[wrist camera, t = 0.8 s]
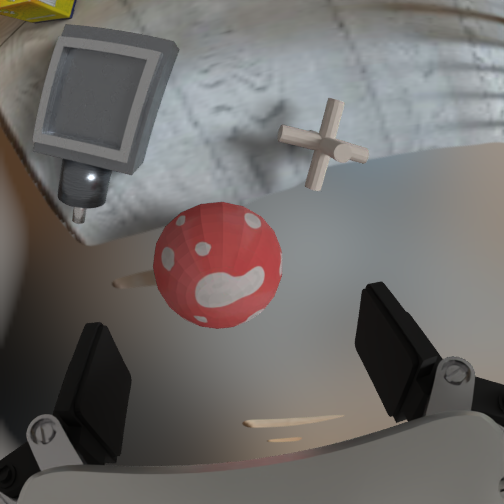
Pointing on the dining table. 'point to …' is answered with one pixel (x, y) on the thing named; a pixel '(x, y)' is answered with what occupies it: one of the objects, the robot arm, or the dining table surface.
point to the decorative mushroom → (218, 264)
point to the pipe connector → (323, 144)
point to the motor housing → (100, 108)
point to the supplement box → (37, 9)
